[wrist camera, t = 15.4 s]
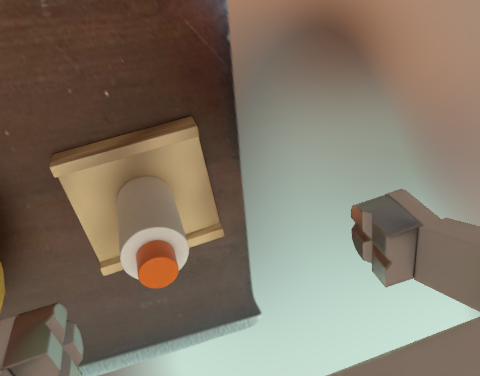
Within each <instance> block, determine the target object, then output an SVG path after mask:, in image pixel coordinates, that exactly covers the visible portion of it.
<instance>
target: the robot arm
mask: <svg viewBox="0 0 480 376" xmlns="http://www.w3.org/2000/svg"><path fill="white" fill-rule="evenodd" d="M351 218H352V219H353V220H354V221H355V222H356V223H355V225H354V227H353V228H352V239H353V242H354V246H355V248H356V250H357V252H358V254H359V255H360V256H361V258H362V259H363V260H365V261H367V262H370V263H372V271H373V272H374V274H375V275H376V276H377V277H378V279H379V280H380V281H381V282H382V284H383V285H384V286H385V287H388V286H391V285H394V284H397V283H400V282H403V281H406V280H409V279H413V278H414V279H415V280H416V281H418V282H420V283H422V284H424V285H426V286H428V287H431V288H433V289H435V290H437V291H439V292H441V293H443V294H445V295H447V296H449V297H451V298H453V299H455V300H457V301H459V302H461V303H463V304H465V305H467V306H469V307H471V308H473V309H475V310H478V311H479V312H480V227H479V226H476V225H472V224H468V223H464V222H460V221H457V220H453V219H449V218H444V219H440V218H439V217H438V216H437V215H435V214H434V213H433V212H431V210H429V209H428V208H426V206H424V205H423V204H422V203H421V202H419V201H418V200H417V199H416V198H414V197H413V196H412V195H411V194H410V193H408V192H407V191H406V190H403V189H399V190H396V191H393V192H391V193H388V194H385V195H383V196H380V197H377V198H374V199H371V200H368V201H365V202H362V203H359V204H356V205H353V206H352V209H351ZM67 313H68V311H67V310H66V308H65V307H64V306H63V304H62V303H55V304H51V305H48V306H45V307H41V308H38V309H35V310H32V311H28V312H25V313H22V314H19V315H17V316H13V317H10V318H7V319H3V320H0V376H82V373H81V371H80V370H79V368H78V367H77V366H78V365H79V363H80V362H81V360H82V359H83V351H84V347H83V341H82V336H81V333H80V331H79V328H78V327H77V325H76V324H75V322H72V321H69V320H67ZM327 376H480V317H478V318H475V319H473V320H470V321H467V322H465V323H462V324H460V325H457V326H455V327H452V328H449V329H447V330H444V331H441V332H439V333H436V334H434V335H431V336H428V337H426V338H423V339H421V340H418V341H415V342H413V343H410V344H408V345H405V346H403V347H400V348H397V349H395V350H392V351H389V352H387V353H384V354H382V355H379V356H377V357H374V358H371V359H369V360H366V361H363V362H361V363H358V364H356V365H353V366H351V367H348V368H345V369H343V370H340V371H338V372H335V373H332V374H330V375H327Z"/></svg>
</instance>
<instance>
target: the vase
mask: <svg viewBox="0 0 480 376" xmlns="http://www.w3.org/2000/svg"><path fill="white" fill-rule="evenodd" d="M4 296H5V284H4V275H3V267H2V265H1V262H0V311H1V307H2V303H3V299H4Z"/></svg>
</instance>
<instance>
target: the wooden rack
mask: <svg viewBox="0 0 480 376" xmlns="http://www.w3.org/2000/svg"><path fill="white" fill-rule="evenodd" d="M50 170H51V172H52V174H53V176H54V177H55V178H56V177H58V178H59V180H60V182H61V184H62V186H63V188H64V190H65V192H66V194H67V196H68V198H69V200H70V203H71V205H72V207H73V209H74V211H75V213H76V215H77V217H78V219H79V221H80V223H81V225H82V227H83V229H84V231H85V233H86V235H87V237H88V239H89V241H90V243H91V245H92V247H93V249H94V251H95V253H96V255H97V257H98V259H99V261H100V270H101V272H102V274H103V276H105V275H108V274H111V273H115V272H118V271H121V270H124V269H123V267H122V265H121V261H120V250H119V233H118V216H117V196H118V193H119V191H120V189H121V188H122V187H123V186H124V185H125V184H126V183H127V182H129V181H130V180H132V179H134V178H137V177H142V176H152V177H156V178H159V179H161V180H163V181H164V182H166V183H167V184H168V185H169V187H170V188H171V190H172V192H173V196H174V199H175V202H176V206H177V209H178V212H179V216H180V219H181V222H182V226H183V229H184V232H185V235H186V239H187V242H188V246H189V248H190V247H193V246H196V245H199V244H202V243H205V242H208V241H211V240H214V239H217V238H220V237H223V236H224V232H223V228H222V226H221V224H220V221H219V217H218V213H217V209H216V205H215V201H214V197H213V193H212V189H211V185H210V181H209V177H208V173H207V169H206V165H205V161H204V157H203V153H202V149H201V145H200V141H199V132H198V128H197V125H196V124H195V122H194V120H193V118H192V116H190V117H186V118H183V119H179V120H175V121H172V122H168V123H165V124H161V125H157V126H154V127H150V128H147V129H143V130H139V131H136V132H132V133H129V134H125V135H121V136H118V137H114V138H110V139H107V140H103V141H100V142H96V143H92V144H89V145H85V146H82V147H78V148H74V149H71V150H67V151H63V152H60V153H56V154H53V155H52V158H51V163H50Z"/></svg>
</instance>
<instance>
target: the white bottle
mask: <svg viewBox="0 0 480 376" xmlns="http://www.w3.org/2000/svg"><path fill="white" fill-rule="evenodd" d="M117 216H118V233H119V250H120V261H121V265H122V267H123V269H124V270H125V271H126V272H127V273H128V274H129V275H130V276H132V277H134V278H136V279H139V280H140V282H141V283H142V284H143V285H145V286H147V287H149V288H162V287H165V286H167V285H169V284H171V283H172V282H173V281H174V280H175V279H176V277H177V275H178V272H179V270H180V269H181V268H182V267H183V266H184V264H185V262H186V261H187V258H188V255H189V246H188V242H187V239H186V235H185V232H184V229H183V226H182V222H181V219H180V216H179V212H178V209H177V206H176V202H175V199H174V196H173V192H172V190H171V188H170V187H169V185H168V184H167V183H166V182H164V181H163V180H161V179H159V178H156V177H152V176H142V177H137V178H134V179H132V180H130V181H129V182H127V183H126V184H125V185H124V186H123V187H122V188H121V189H120V191H119V193H118V196H117Z"/></svg>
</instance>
